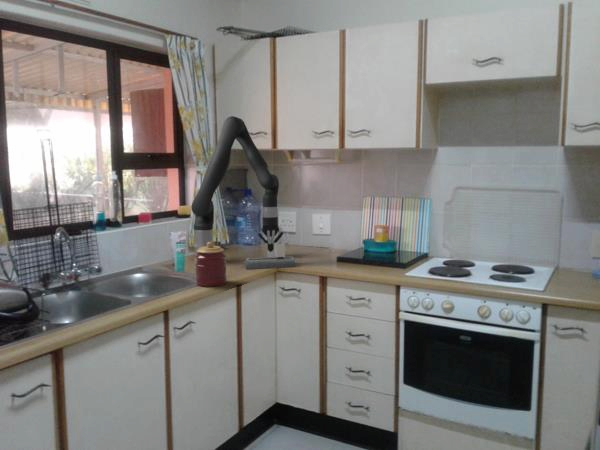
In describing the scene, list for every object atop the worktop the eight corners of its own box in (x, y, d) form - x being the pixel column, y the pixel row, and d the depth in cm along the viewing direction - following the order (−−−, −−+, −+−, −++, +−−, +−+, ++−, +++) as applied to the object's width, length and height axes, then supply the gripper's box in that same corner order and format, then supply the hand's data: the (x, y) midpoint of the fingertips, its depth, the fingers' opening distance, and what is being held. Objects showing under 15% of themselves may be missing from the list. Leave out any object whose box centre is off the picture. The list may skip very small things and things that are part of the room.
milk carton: (282, 256, 280) (282, 221, 278) (280, 258, 273) (280, 222, 270) (269, 256, 281) (269, 221, 278) (267, 258, 274) (266, 222, 271)
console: (246, 269, 247) (245, 262, 247) (243, 264, 259) (243, 257, 258) (295, 267, 252) (295, 259, 251) (291, 262, 263) (291, 255, 263)
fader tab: (277, 261, 253) (276, 243, 252) (275, 259, 258) (275, 242, 257) (285, 261, 254) (285, 243, 253) (283, 259, 259) (283, 241, 258)
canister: (212, 288, 210) (211, 245, 208) (188, 284, 217) (187, 242, 215) (233, 282, 221) (232, 240, 219) (209, 278, 228) (208, 238, 226)
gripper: (257, 217, 247) (258, 253, 249) (284, 216, 250) (285, 252, 252) (255, 215, 255) (256, 250, 257) (282, 214, 257) (282, 249, 259)
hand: (270, 251), depth 254 cm, fingers closed
